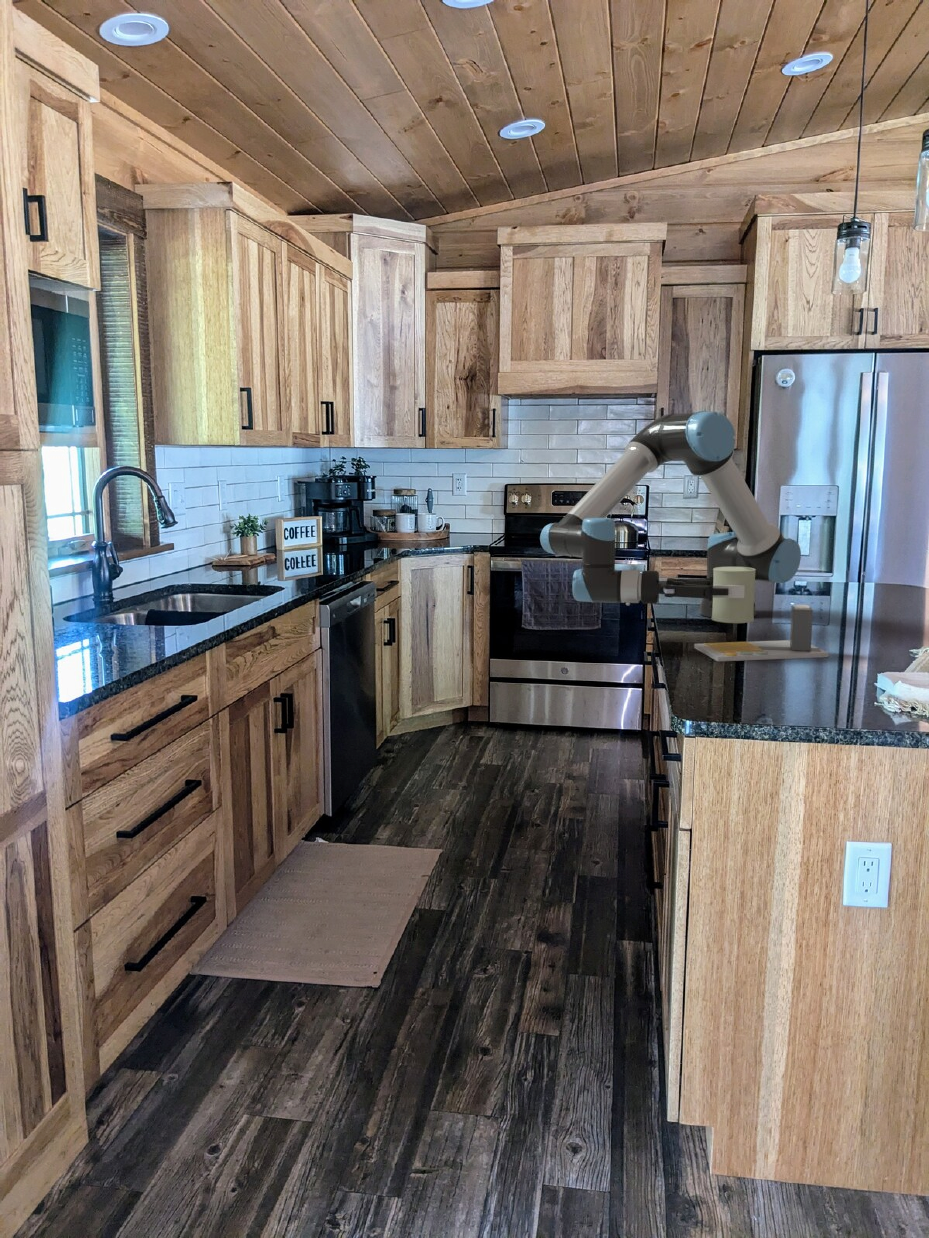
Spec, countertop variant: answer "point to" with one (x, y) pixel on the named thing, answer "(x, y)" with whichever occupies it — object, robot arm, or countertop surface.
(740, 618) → the can
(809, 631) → the grey upright block
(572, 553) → the robot arm
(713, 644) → the panel
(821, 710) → the countertop surface
